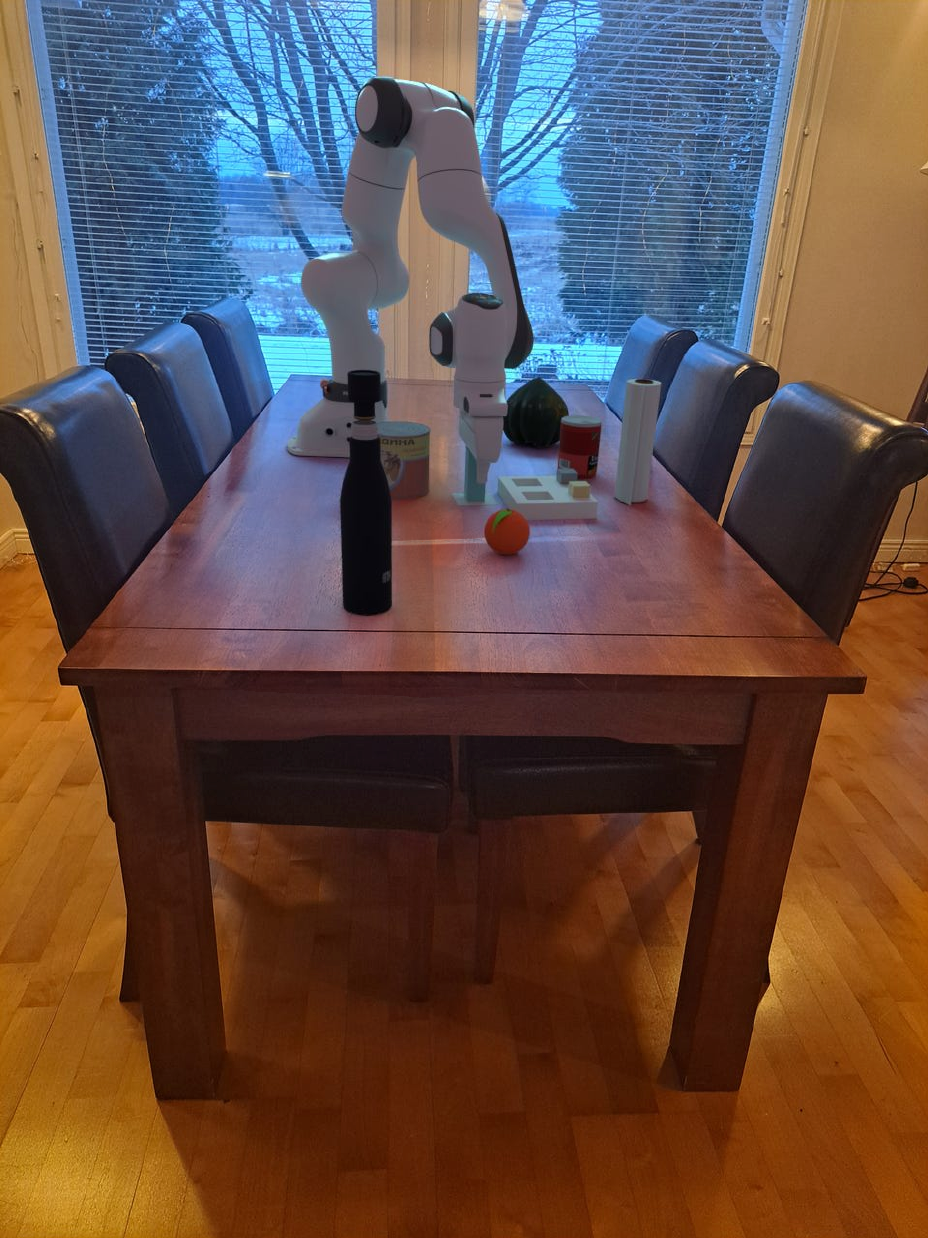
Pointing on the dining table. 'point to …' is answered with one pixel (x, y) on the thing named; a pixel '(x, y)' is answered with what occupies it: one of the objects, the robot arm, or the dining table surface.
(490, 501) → the mat
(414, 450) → the canned food
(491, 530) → the clementine
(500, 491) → the block
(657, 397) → the paper towel roll
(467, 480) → the plug
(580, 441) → the canned food
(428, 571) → the dining table surface
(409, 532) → the dining table surface
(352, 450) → the insulated water bottle
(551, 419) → the squash
